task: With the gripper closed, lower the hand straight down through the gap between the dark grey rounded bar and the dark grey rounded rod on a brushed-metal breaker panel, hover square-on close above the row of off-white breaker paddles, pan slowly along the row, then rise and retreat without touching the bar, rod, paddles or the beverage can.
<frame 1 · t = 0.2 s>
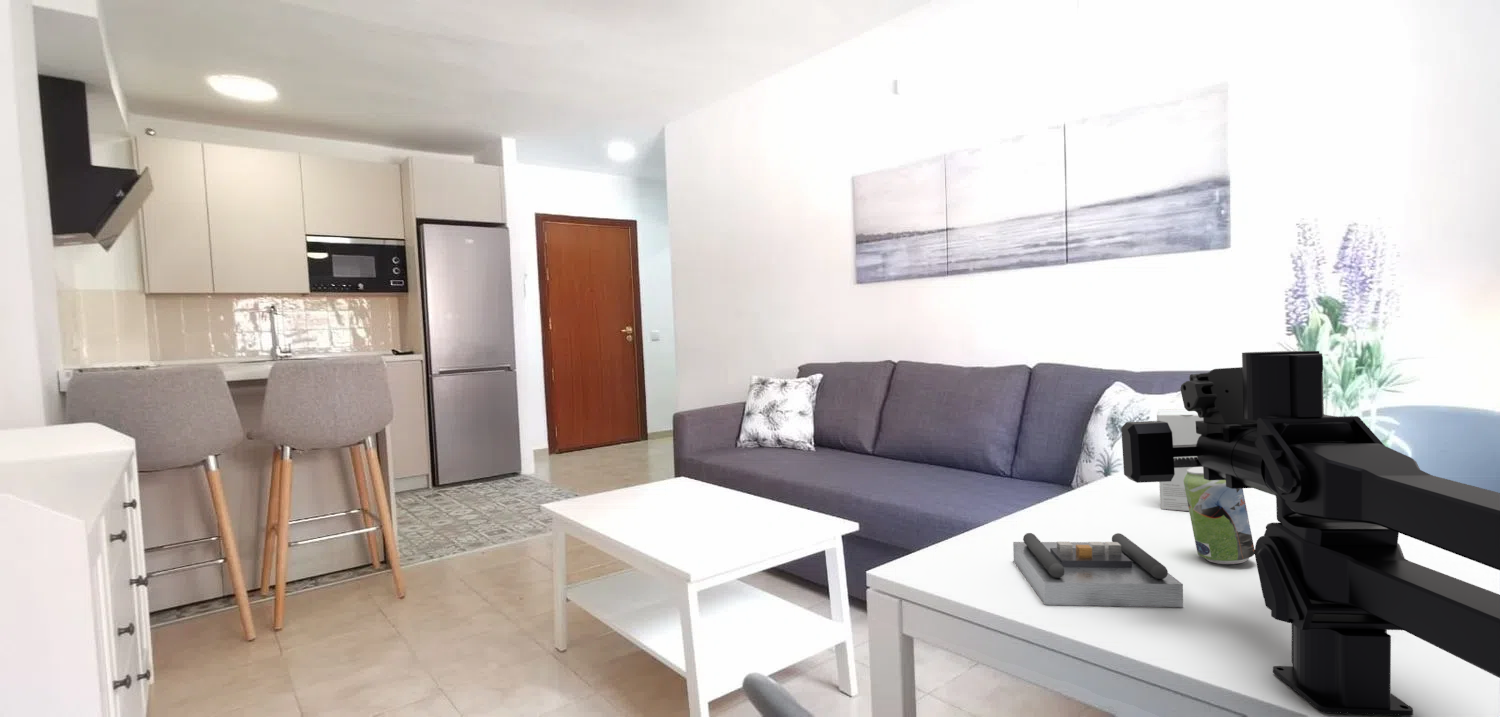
hand: (1181, 437, 80), 17 cm above the table, tool horizontal, fingers open, 9 cm apart
beverage can: (1218, 561, 86), on the table
breaker panel: (1090, 581, 81), on the table
skincare box: (1188, 508, 110), on the table
dark grey rounded bar: (1042, 560, 82), point 2 cm above the table, touching breaker panel
dark grey rounded rod: (1137, 561, 80), point 2 cm above the table, touching breaker panel
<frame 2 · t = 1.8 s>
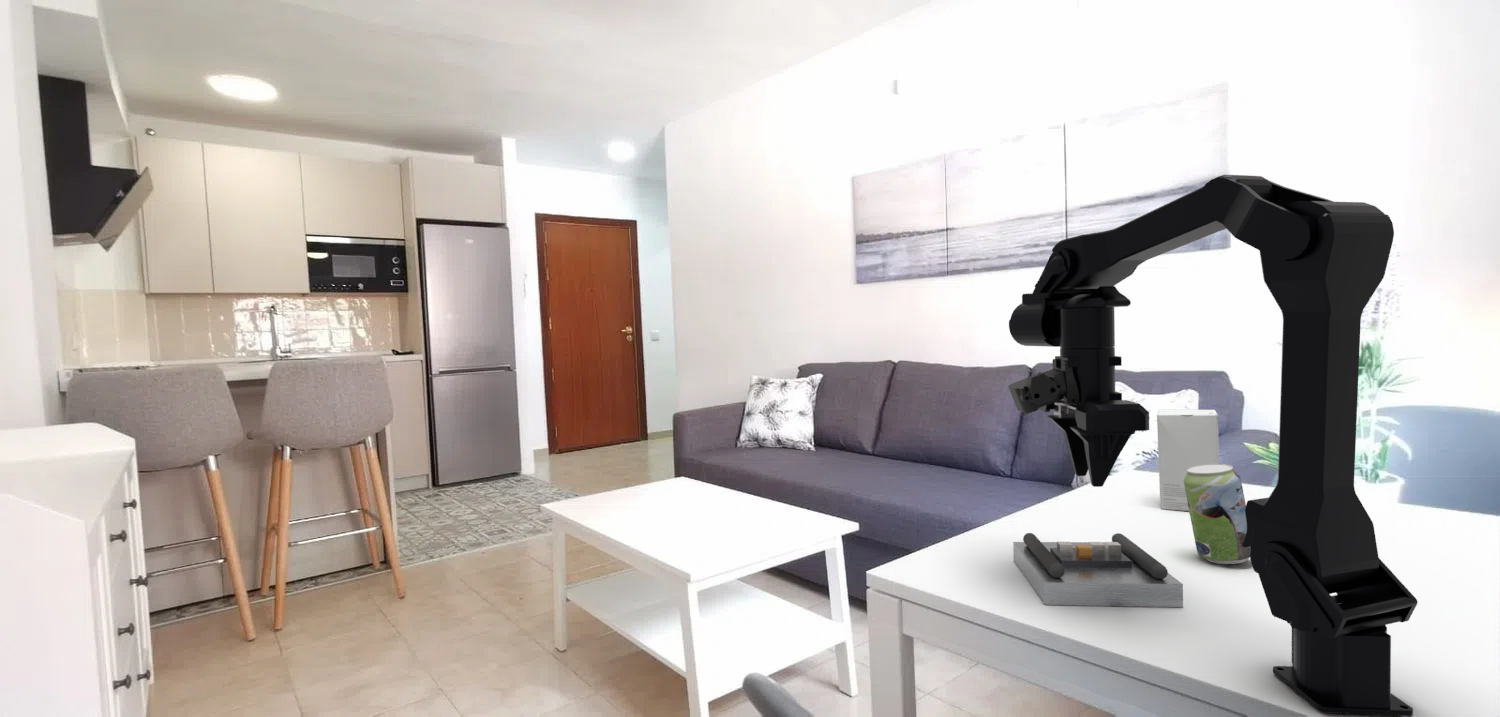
hand: (1088, 480, 80), 12 cm above the table, tool pointing down, fingers open, 5 cm apart
nothing on the table moved.
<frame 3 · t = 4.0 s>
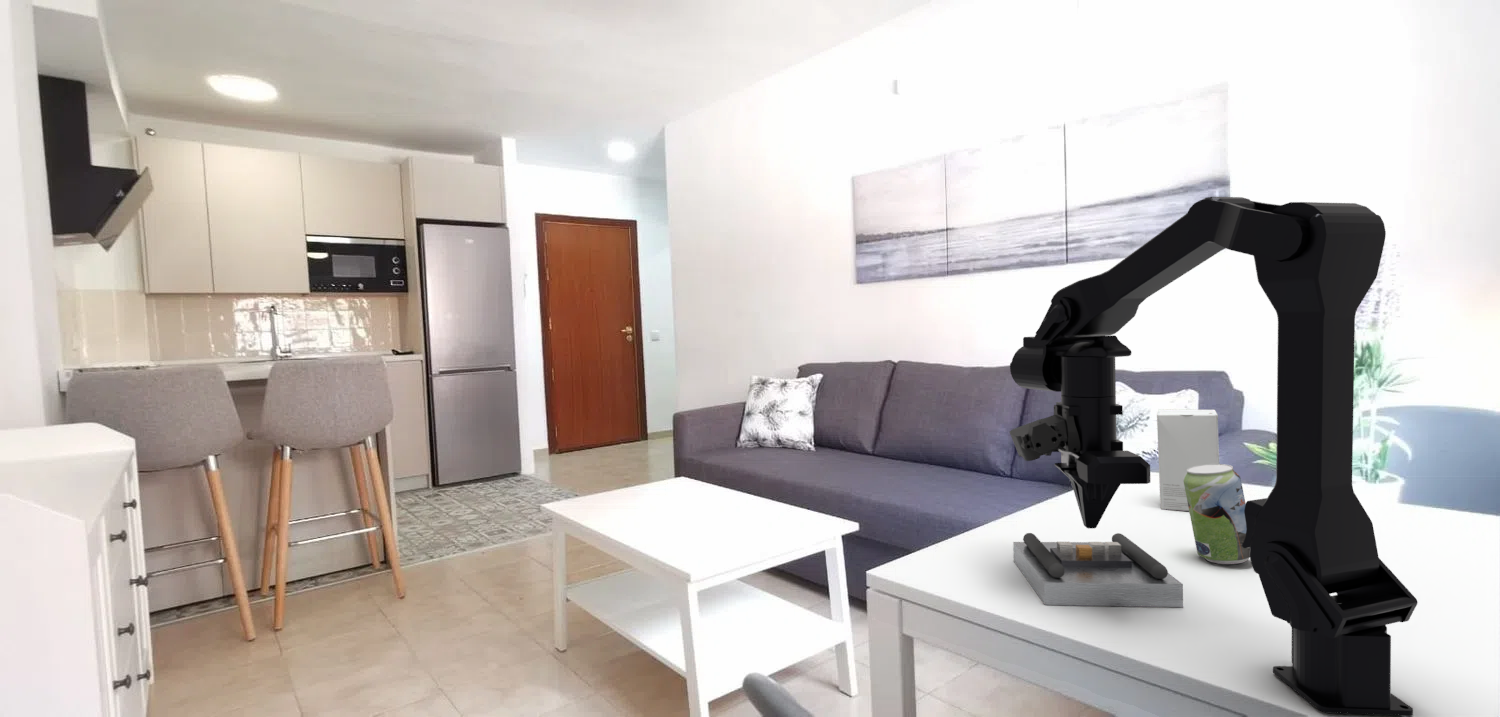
hand: (1090, 527, 81), 6 cm above the table, tool pointing down, fingers closed
nothing on the table moved.
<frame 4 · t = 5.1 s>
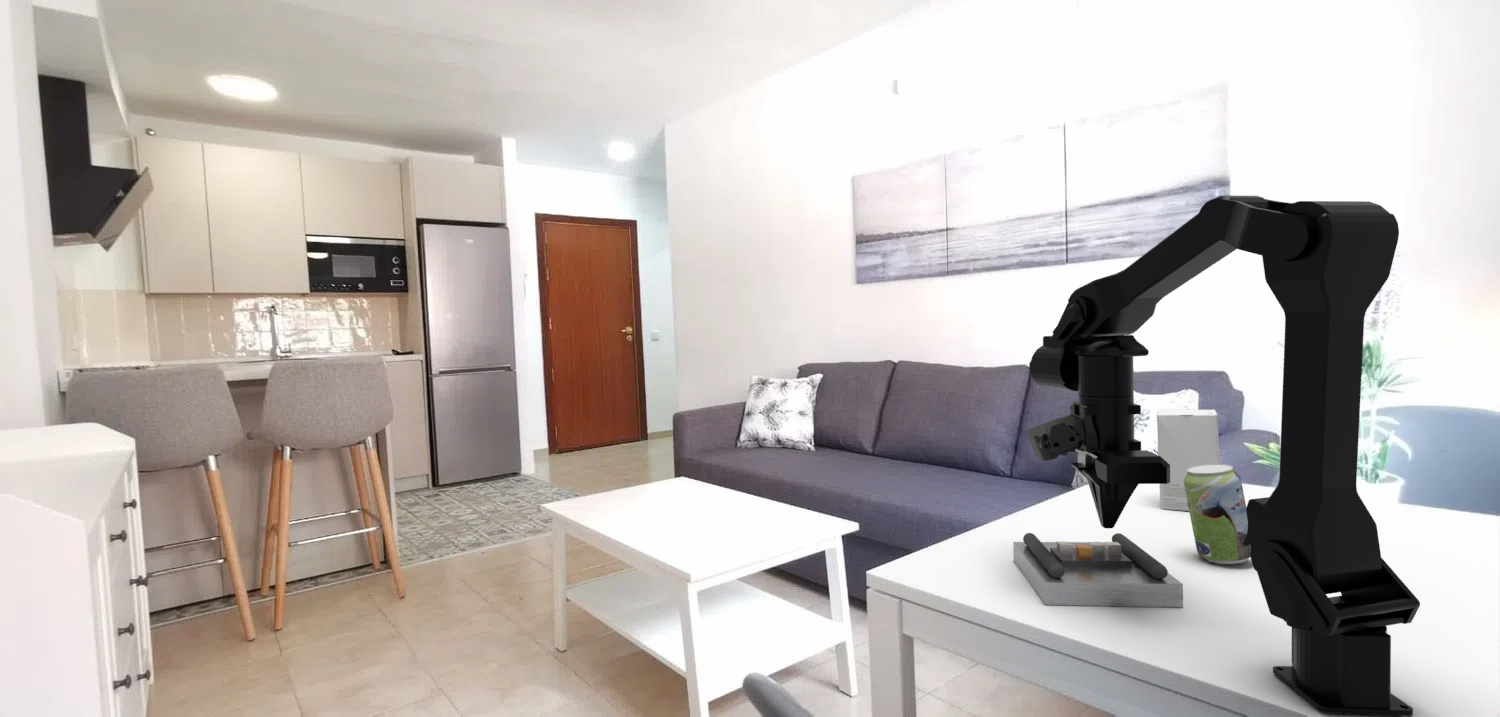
hand: (1107, 527, 80), 6 cm above the table, tool pointing down, fingers closed
nothing on the table moved.
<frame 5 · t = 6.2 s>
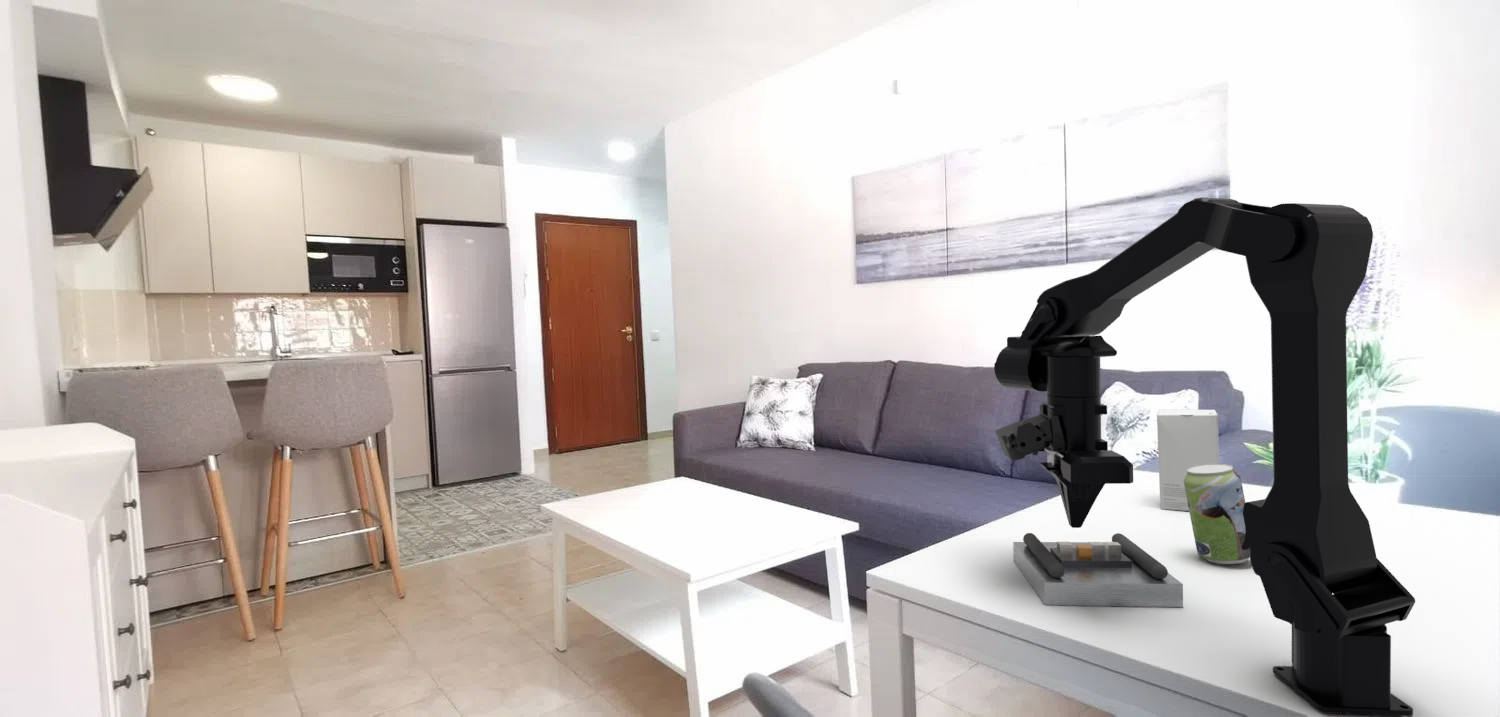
hand: (1075, 526, 81), 7 cm above the table, tool pointing down, fingers closed
nothing on the table moved.
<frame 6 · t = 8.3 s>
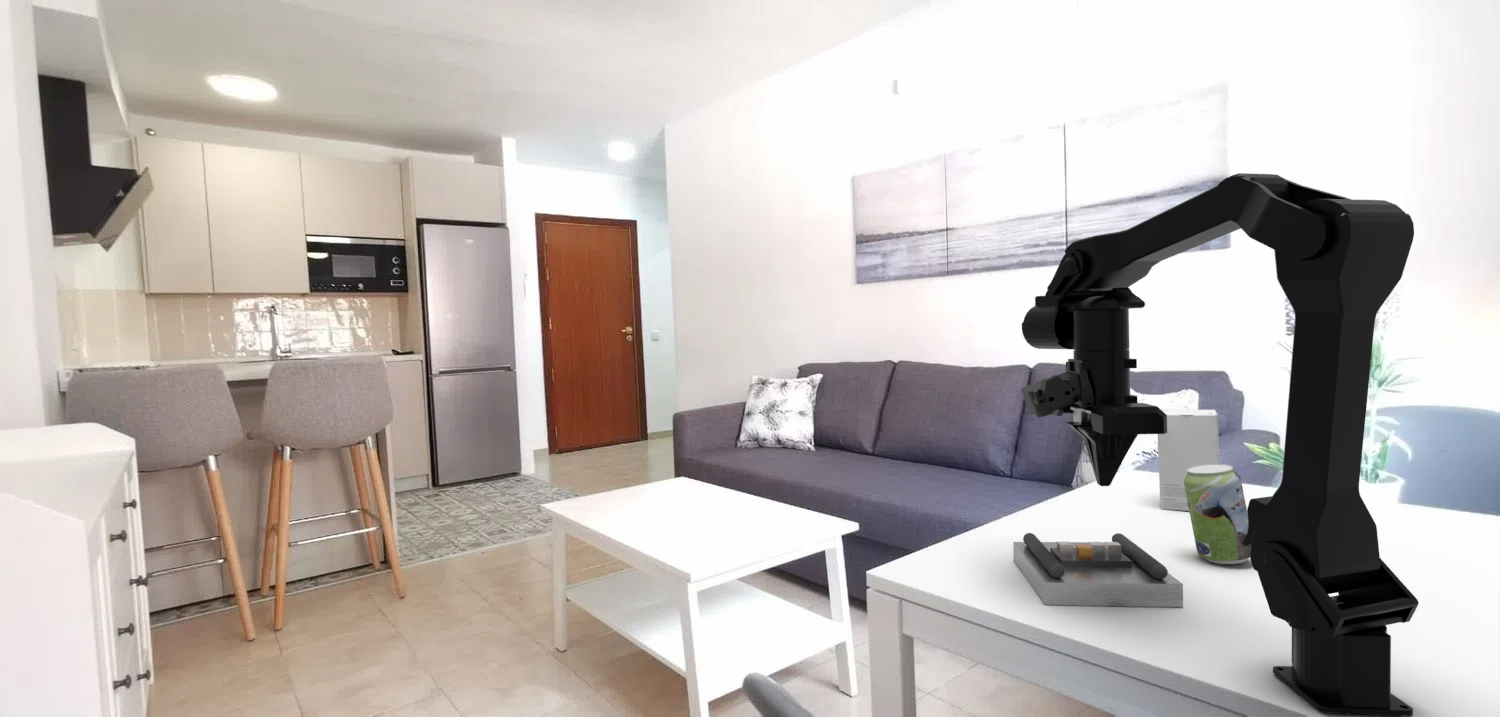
hand: (1103, 485, 79), 12 cm above the table, tool pointing down, fingers closed
nothing on the table moved.
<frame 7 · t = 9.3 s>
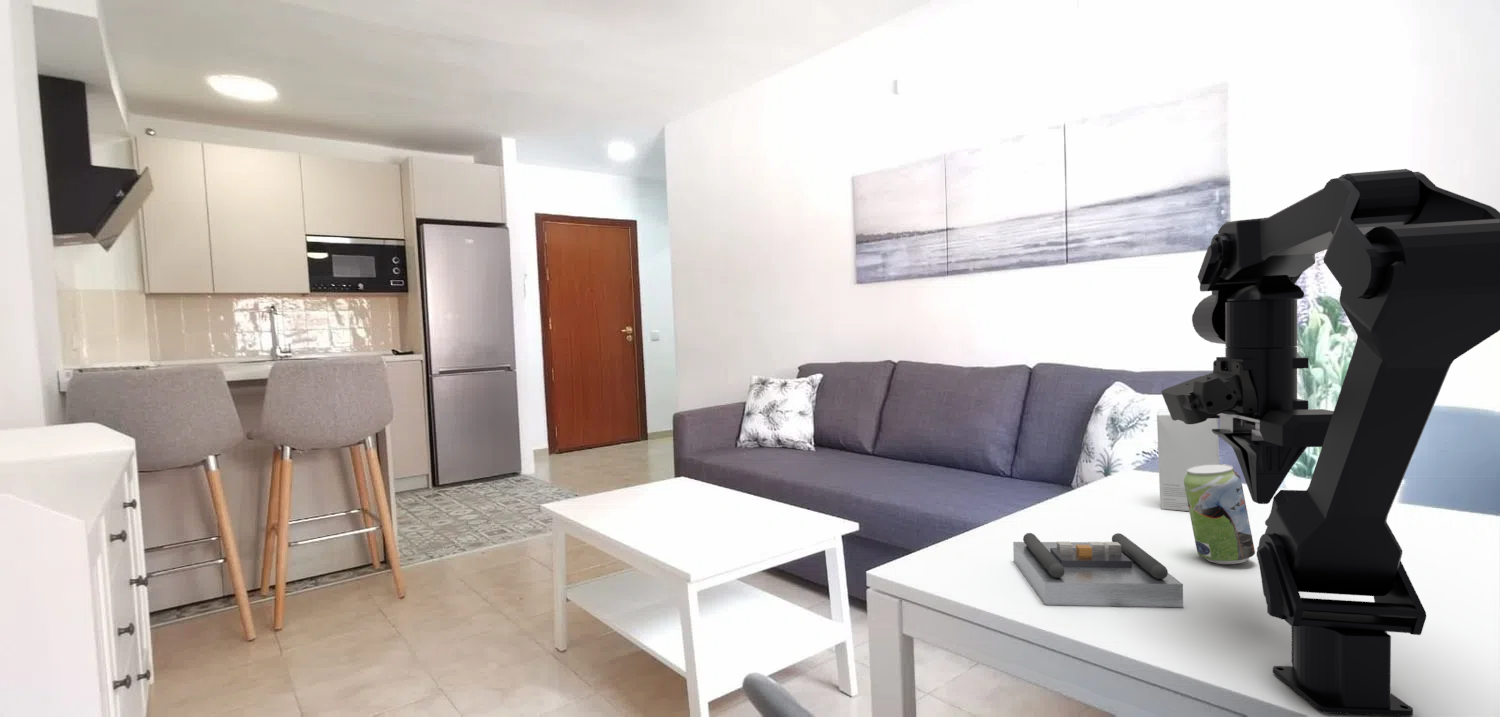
hand: (1260, 503, 69), 12 cm above the table, tool pointing down, fingers closed
nothing on the table moved.
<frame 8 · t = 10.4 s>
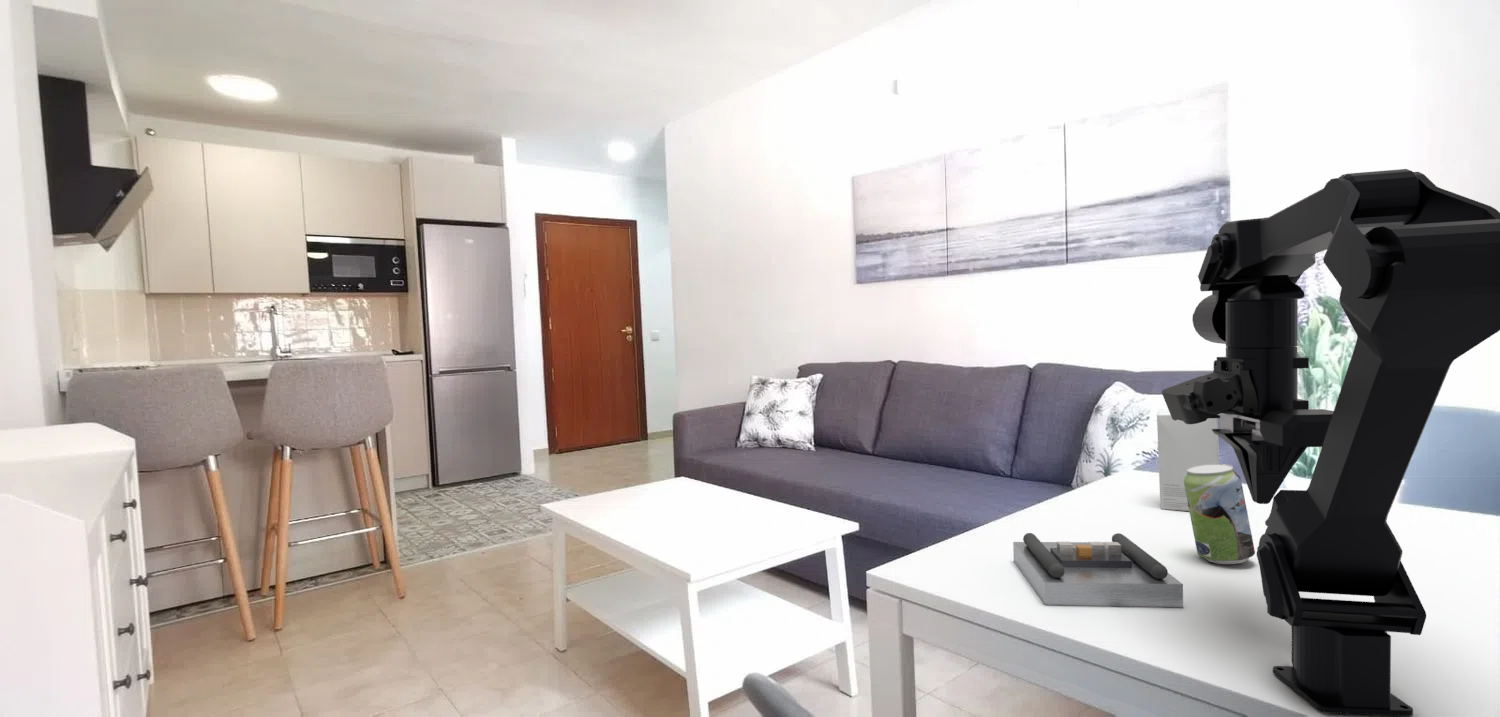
hand: (1261, 502, 69), 12 cm above the table, tool pointing down, fingers closed
nothing on the table moved.
at the end: dark grey rounded bar moved 0.0 cm from its start; dark grey rounded rod moved 0.0 cm from its start; beverage can moved 0.2 cm from its start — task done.
